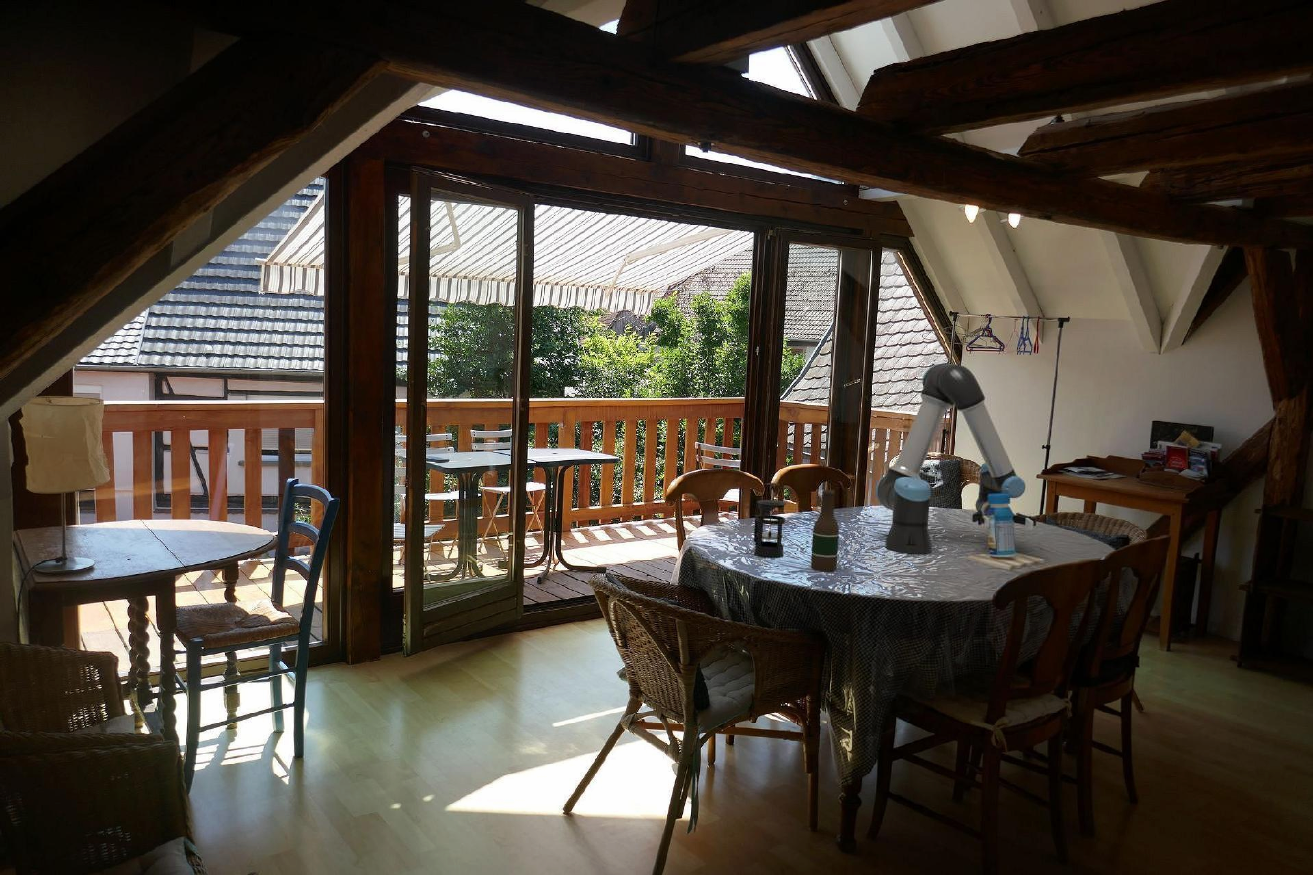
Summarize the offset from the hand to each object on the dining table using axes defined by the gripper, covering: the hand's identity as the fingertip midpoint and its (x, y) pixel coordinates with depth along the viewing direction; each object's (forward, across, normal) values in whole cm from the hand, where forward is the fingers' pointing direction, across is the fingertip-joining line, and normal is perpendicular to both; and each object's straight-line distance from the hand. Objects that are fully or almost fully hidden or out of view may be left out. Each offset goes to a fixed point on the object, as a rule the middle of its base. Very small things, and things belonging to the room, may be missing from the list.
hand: (1009, 524), depth 306 cm
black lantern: (+13, +76, -12) cm, 78 cm away
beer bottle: (+27, +60, -12) cm, 66 cm away
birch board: (-1, 0, -12) cm, 12 cm away
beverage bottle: (-1, +1, -11) cm, 11 cm away
